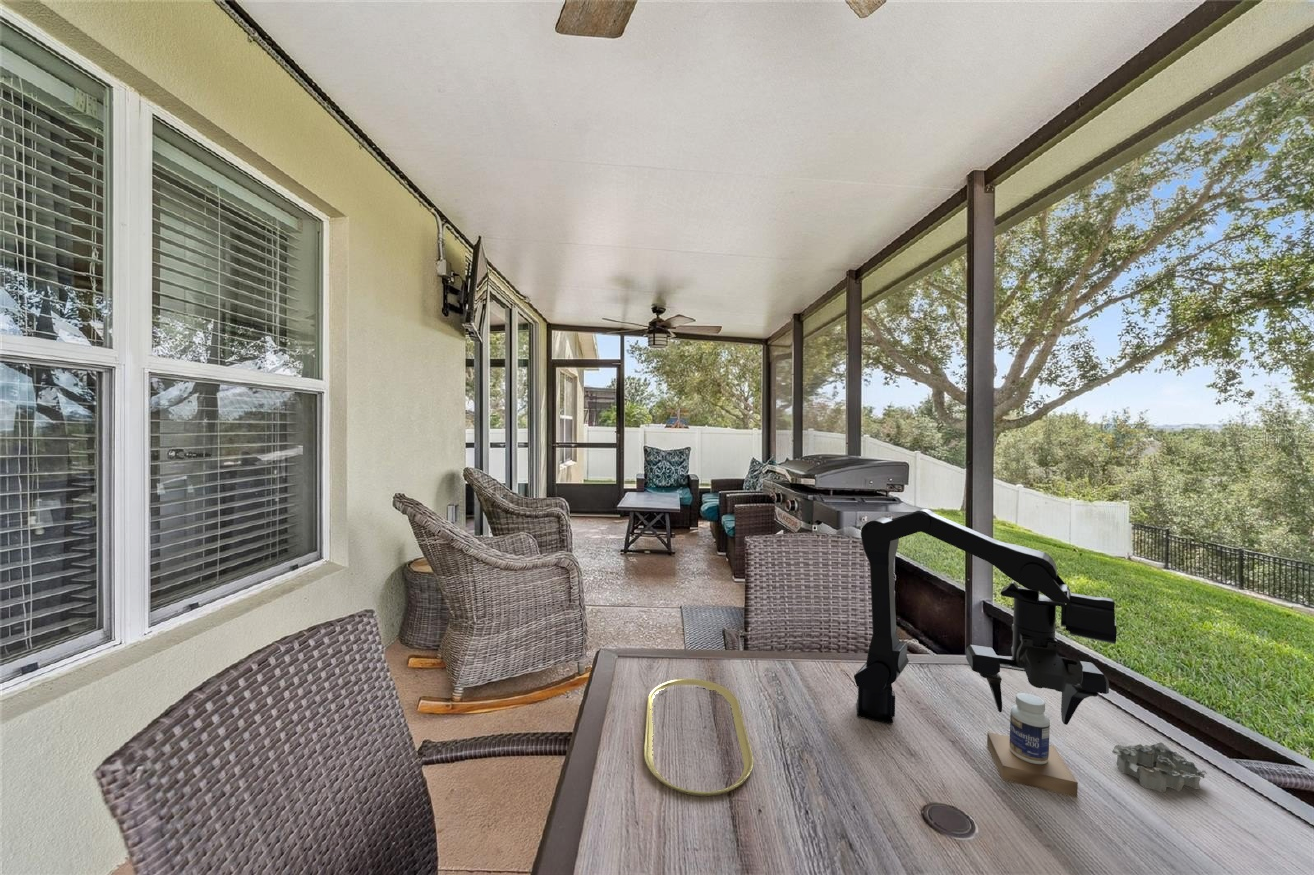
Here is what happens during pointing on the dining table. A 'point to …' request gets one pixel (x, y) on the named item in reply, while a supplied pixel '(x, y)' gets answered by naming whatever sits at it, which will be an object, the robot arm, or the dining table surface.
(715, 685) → the oval ring
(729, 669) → the dining table surface
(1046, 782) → the tan slab
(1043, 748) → the pill bottle
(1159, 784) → the egg carton
